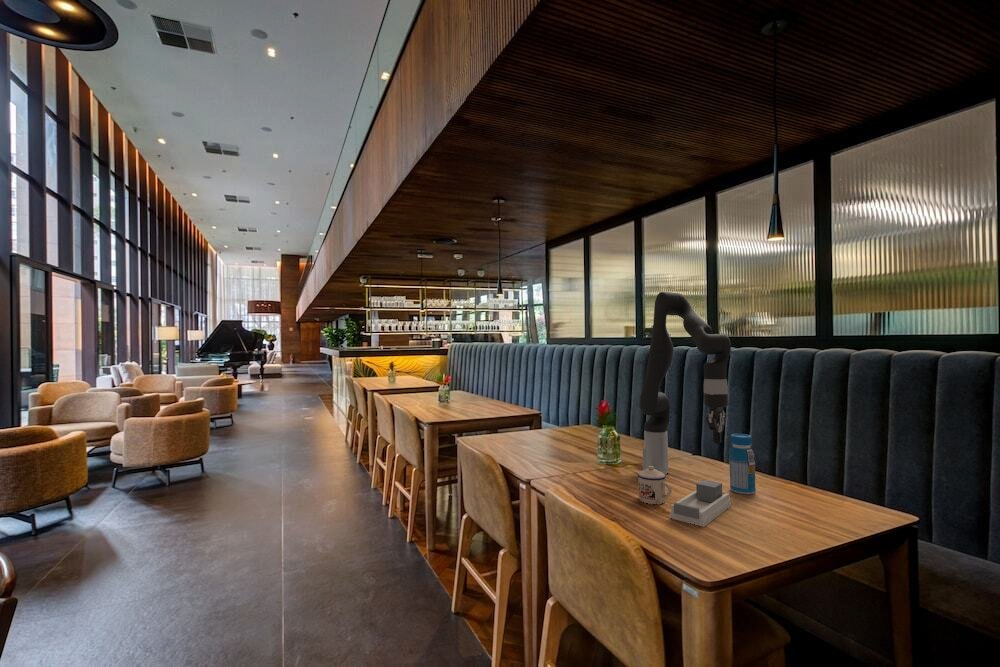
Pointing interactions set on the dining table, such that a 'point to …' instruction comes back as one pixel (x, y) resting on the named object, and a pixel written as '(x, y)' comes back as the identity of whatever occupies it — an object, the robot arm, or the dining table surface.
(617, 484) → the dining table surface
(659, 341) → the robot arm
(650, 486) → the teacup with lid
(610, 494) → the dining table surface
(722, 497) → the slide rail
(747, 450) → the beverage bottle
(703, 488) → the slider block
